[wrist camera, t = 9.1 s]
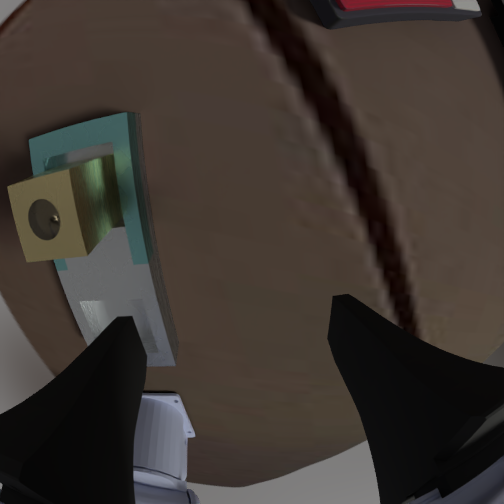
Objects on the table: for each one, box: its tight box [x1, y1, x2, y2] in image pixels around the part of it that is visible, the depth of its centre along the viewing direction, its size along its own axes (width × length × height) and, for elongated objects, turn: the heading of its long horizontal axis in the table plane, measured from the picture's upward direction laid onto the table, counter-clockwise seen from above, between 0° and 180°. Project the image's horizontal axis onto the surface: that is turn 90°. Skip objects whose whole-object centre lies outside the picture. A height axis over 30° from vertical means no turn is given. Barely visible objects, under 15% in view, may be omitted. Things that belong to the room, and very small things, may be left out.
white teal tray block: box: [29, 112, 179, 366], centre depth 18 cm, size 18×7×3 cm, turn 2°
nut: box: [7, 153, 123, 262], centre depth 13 cm, size 4×4×6 cm
